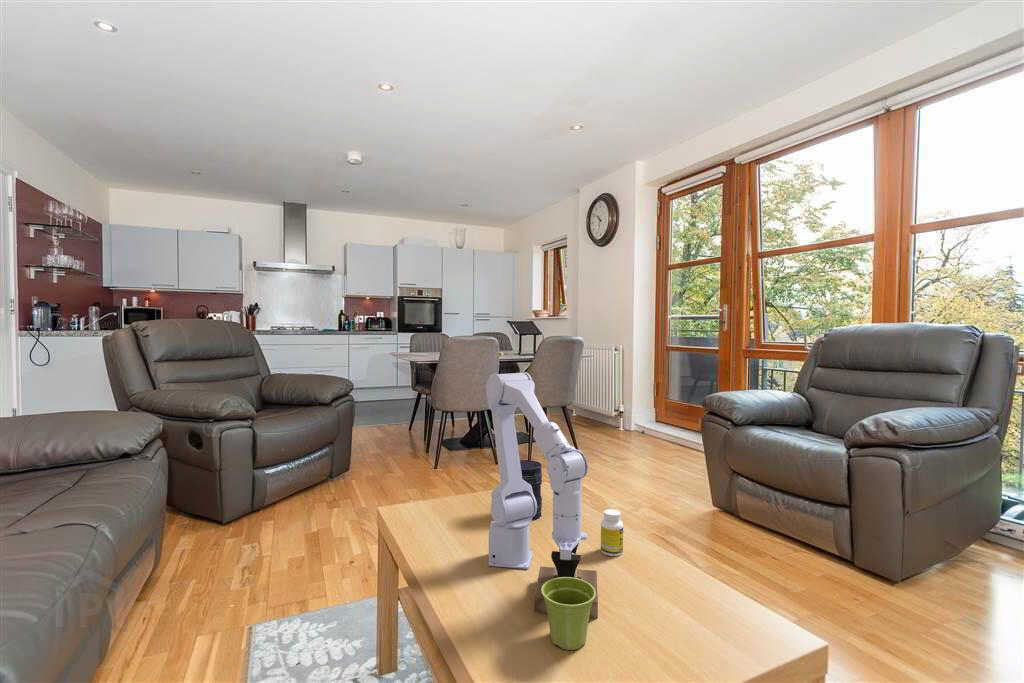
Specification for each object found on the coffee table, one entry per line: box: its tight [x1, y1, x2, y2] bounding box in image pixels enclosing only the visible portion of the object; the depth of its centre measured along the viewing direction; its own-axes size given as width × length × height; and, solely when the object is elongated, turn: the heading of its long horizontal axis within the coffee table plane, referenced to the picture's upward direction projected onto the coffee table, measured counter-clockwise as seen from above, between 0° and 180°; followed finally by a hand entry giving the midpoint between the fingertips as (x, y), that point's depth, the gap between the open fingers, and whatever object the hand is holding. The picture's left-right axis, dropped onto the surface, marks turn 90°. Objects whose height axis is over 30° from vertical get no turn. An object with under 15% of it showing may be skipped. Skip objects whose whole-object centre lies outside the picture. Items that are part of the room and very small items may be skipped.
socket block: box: [533, 565, 599, 619], centre depth 96 cm, size 12×12×3 cm
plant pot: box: [541, 577, 596, 651], centre depth 83 cm, size 9×9×9 cm
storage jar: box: [509, 459, 543, 522], centre depth 139 cm, size 10×10×15 cm
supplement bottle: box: [600, 508, 624, 557], centre depth 116 cm, size 5×5×10 cm
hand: (567, 578), depth 96 cm, fingers open, 7 cm apart
